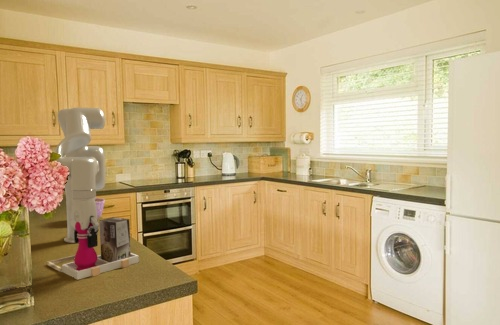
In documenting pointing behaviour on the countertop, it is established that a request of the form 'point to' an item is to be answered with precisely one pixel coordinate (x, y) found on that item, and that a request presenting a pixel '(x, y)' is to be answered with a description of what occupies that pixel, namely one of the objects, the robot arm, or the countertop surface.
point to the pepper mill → (84, 250)
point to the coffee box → (115, 239)
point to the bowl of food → (99, 206)
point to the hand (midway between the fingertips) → (85, 244)
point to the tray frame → (52, 263)
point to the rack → (98, 267)
